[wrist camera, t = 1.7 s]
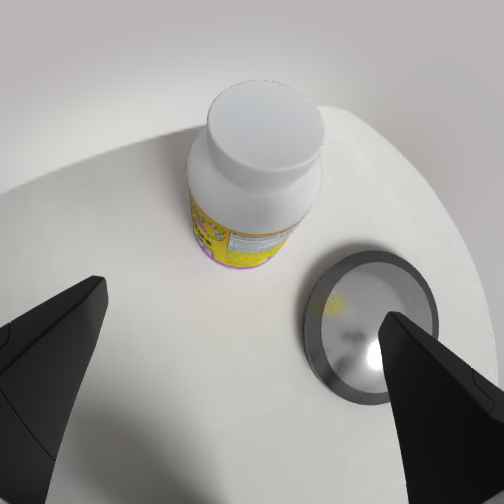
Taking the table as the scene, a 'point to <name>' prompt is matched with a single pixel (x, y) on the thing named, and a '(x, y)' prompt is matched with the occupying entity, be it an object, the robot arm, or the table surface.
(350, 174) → the table surface
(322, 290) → the base
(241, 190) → the supplement bottle
